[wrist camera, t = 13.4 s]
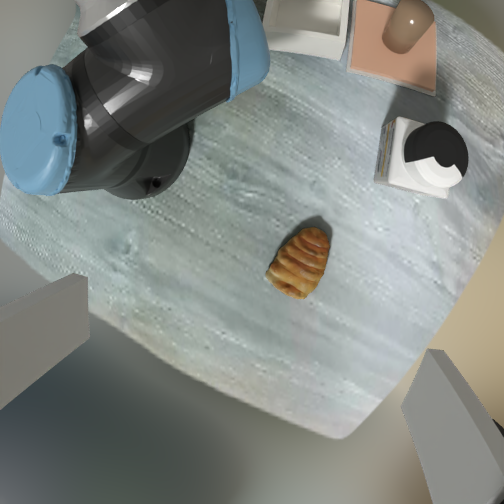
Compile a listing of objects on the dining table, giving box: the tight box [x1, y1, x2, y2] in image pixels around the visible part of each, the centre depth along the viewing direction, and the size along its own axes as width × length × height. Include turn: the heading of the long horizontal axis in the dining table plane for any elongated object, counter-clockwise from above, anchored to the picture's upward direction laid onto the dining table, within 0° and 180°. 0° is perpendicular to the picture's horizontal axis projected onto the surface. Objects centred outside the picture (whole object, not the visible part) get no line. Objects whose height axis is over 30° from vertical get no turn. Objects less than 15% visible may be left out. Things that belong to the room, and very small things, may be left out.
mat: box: [346, 0, 437, 97], centre depth 33 cm, size 13×13×1 cm
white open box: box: [262, 0, 349, 61], centre depth 32 cm, size 10×10×6 cm
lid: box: [350, 0, 436, 92], centre depth 28 cm, size 12×12×10 cm
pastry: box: [266, 227, 330, 299], centre depth 40 cm, size 9×7×4 cm
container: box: [374, 116, 468, 198], centre depth 31 cm, size 8×8×13 cm
